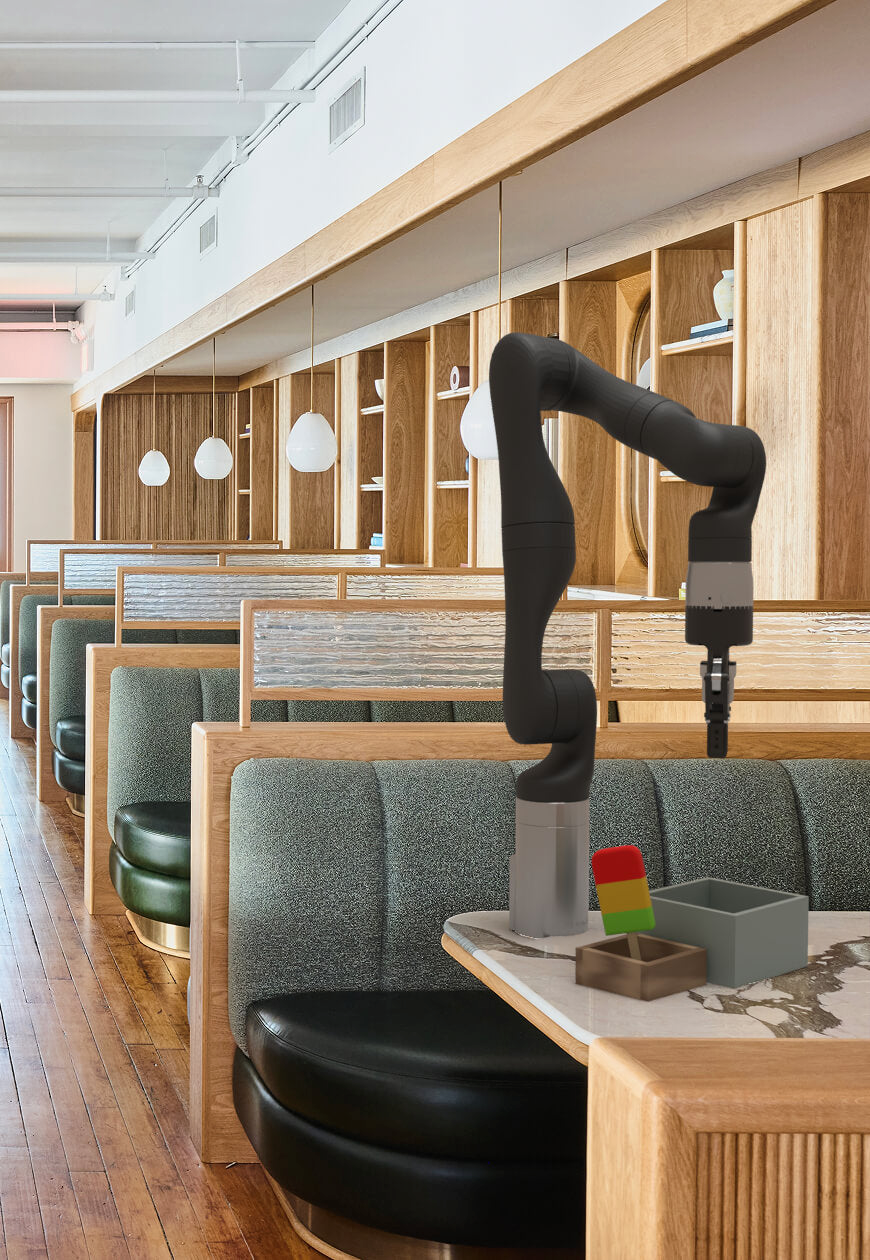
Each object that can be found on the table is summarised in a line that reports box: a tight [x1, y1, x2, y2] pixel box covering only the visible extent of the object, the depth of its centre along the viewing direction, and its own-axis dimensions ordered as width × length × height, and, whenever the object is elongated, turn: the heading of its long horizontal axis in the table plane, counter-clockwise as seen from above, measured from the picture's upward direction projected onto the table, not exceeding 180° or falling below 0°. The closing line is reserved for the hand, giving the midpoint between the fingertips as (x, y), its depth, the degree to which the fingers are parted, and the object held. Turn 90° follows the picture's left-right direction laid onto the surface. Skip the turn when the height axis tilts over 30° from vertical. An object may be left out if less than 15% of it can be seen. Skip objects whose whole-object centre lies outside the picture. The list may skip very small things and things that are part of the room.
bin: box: [636, 877, 810, 990], centre depth 169 cm, size 14×14×8 cm
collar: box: [574, 933, 707, 1003], centre depth 161 cm, size 10×10×4 cm
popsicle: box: [590, 844, 656, 961], centre depth 161 cm, size 6×15×2 cm
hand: (717, 755), depth 167 cm, fingers closed
